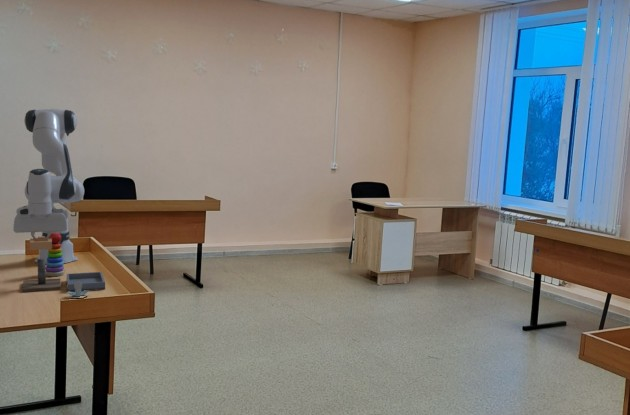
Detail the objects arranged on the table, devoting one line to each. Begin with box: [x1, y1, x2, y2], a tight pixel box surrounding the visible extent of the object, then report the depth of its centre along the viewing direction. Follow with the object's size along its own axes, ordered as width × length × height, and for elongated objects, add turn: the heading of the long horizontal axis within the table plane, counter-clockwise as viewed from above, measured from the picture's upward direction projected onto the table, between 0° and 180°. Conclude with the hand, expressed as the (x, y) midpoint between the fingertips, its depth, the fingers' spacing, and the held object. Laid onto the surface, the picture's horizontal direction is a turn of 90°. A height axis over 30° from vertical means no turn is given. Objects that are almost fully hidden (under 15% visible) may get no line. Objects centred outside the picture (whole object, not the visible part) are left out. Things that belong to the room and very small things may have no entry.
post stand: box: [21, 259, 62, 293], centre depth 251 cm, size 14×14×11 cm
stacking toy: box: [45, 232, 66, 277], centre depth 270 cm, size 8×8×19 cm
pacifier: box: [67, 281, 89, 299], centre depth 239 cm, size 7×6×6 cm
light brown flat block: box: [29, 236, 52, 251], centre depth 252 cm, size 12×8×3 cm, turn 23°
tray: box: [66, 271, 106, 293], centre depth 257 cm, size 18×14×3 cm
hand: (41, 242), depth 255 cm, fingers closed on light brown flat block, 2 cm apart
